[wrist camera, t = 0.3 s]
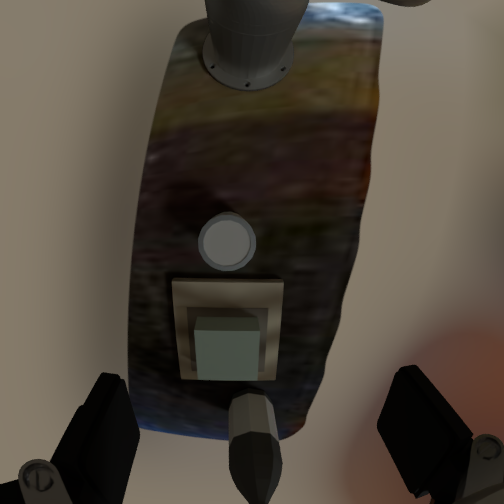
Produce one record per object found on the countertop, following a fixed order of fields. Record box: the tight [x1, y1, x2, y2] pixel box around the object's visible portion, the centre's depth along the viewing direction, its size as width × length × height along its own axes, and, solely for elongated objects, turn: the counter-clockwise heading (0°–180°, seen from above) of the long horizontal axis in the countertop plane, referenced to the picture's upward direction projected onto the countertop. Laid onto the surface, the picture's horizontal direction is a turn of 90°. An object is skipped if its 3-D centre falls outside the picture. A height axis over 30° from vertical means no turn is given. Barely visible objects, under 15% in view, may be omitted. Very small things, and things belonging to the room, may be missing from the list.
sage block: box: [194, 317, 260, 381], centre depth 43 cm, size 9×9×4 cm
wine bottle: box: [229, 388, 283, 504], centre depth 36 cm, size 8×8×30 cm
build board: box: [172, 278, 284, 381], centre depth 45 cm, size 18×16×2 cm
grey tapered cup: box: [198, 212, 256, 271], centre depth 38 cm, size 7×7×7 cm
